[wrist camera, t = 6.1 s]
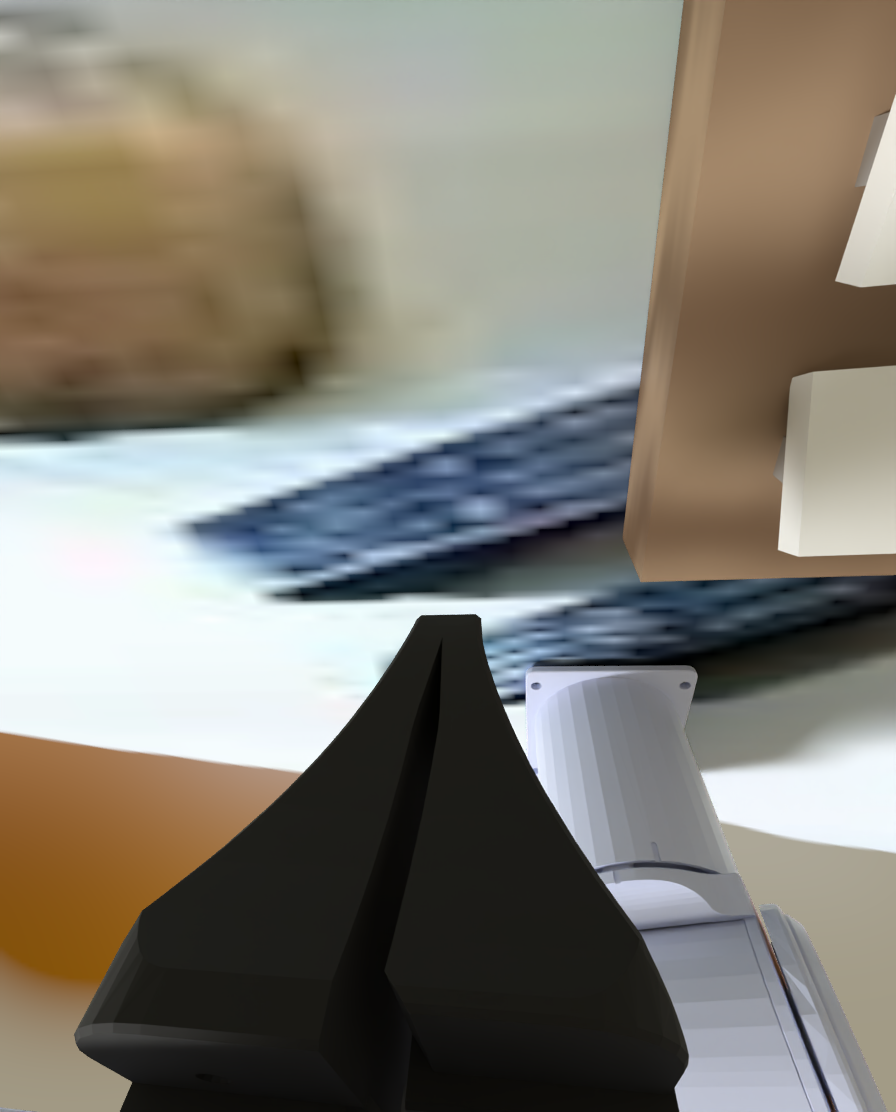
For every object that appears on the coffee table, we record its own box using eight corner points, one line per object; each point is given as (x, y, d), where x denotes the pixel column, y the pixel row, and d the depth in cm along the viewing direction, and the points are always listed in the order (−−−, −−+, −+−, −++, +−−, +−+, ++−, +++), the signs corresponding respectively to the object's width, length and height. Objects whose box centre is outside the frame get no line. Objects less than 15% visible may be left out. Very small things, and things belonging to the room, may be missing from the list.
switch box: (902, 527, 18) (981, 583, 15) (622, 538, 20) (645, 591, 17) (1223, -156, 10) (1542, -330, 7) (690, -59, 11) (763, -170, 8)
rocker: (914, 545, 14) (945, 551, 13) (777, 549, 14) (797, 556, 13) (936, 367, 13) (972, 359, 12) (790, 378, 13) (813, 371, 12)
